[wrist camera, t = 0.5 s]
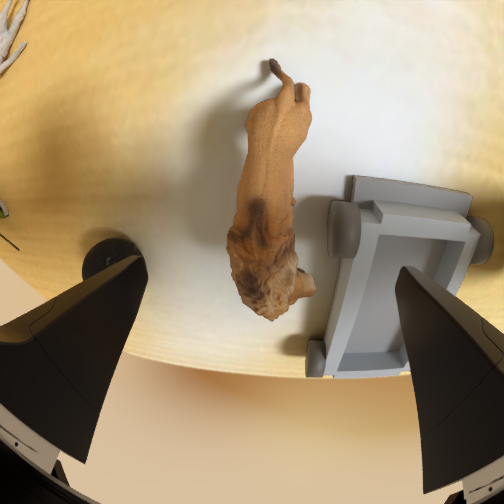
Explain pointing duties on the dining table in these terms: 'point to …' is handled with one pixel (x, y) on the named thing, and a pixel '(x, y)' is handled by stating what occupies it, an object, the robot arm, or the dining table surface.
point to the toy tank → (2, 212)
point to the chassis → (390, 268)
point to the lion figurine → (270, 204)
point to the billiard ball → (107, 255)
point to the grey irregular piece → (10, 34)
